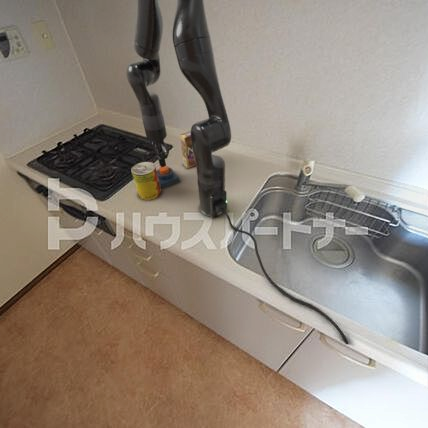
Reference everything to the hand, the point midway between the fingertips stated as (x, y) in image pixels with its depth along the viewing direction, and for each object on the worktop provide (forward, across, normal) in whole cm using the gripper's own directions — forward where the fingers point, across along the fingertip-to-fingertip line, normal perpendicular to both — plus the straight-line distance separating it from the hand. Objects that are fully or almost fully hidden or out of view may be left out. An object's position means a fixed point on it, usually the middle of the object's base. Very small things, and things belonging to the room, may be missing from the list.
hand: (163, 165), depth 98 cm
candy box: (+7, -3, +16) cm, 18 cm away
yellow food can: (+7, +4, -9) cm, 12 cm away
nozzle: (+3, 0, 0) cm, 4 cm away
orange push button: (+7, 0, 0) cm, 7 cm away
